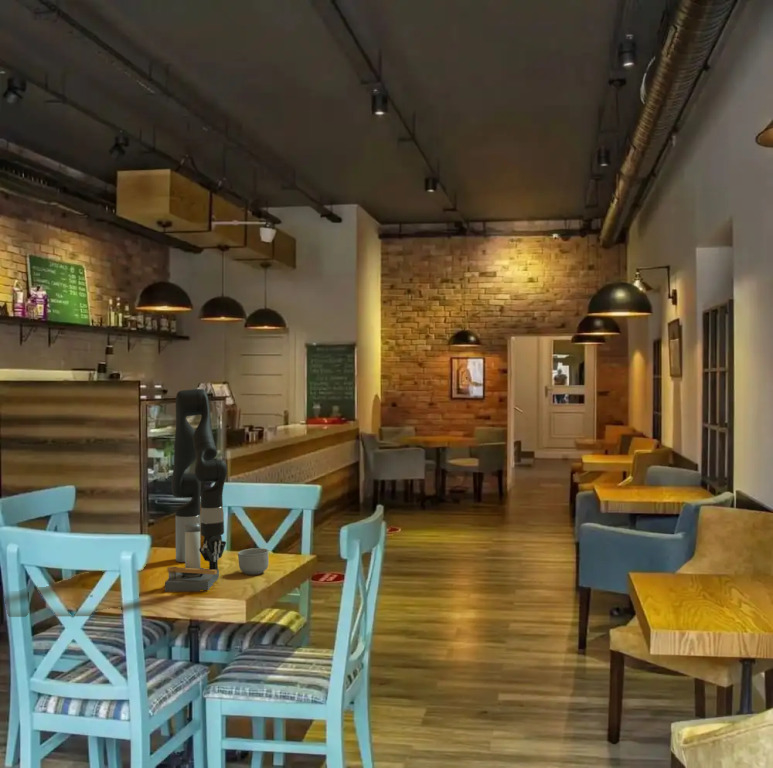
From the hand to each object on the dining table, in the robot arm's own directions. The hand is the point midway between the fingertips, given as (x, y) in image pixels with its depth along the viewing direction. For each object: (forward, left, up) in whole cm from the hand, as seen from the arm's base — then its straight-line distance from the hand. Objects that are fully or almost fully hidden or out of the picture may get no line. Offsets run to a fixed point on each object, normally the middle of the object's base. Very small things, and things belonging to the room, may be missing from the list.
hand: (213, 572), depth 286 cm
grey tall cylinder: (-6, -8, -5) cm, 11 cm away
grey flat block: (-6, -8, -5) cm, 11 cm away
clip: (0, -7, 0) cm, 7 cm away
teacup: (-24, +10, -5) cm, 26 cm away
